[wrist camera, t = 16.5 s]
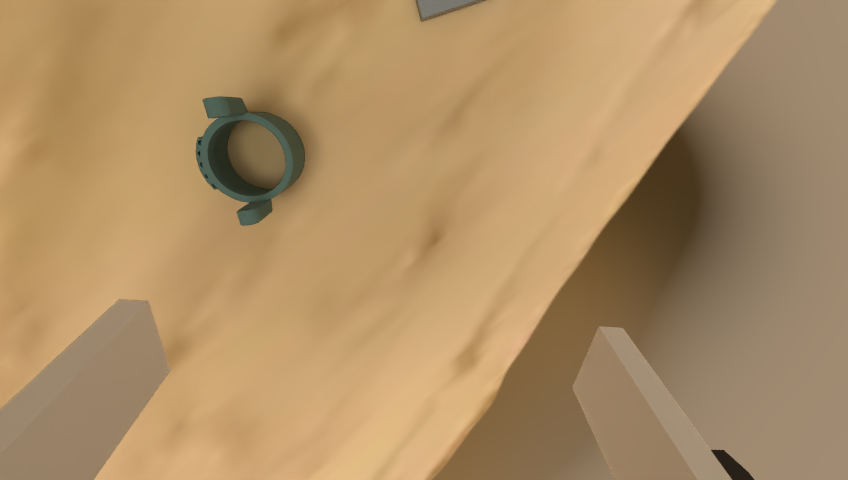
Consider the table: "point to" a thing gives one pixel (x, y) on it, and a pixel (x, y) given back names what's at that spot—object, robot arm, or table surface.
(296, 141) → the bracket
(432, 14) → the board
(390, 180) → the table surface
